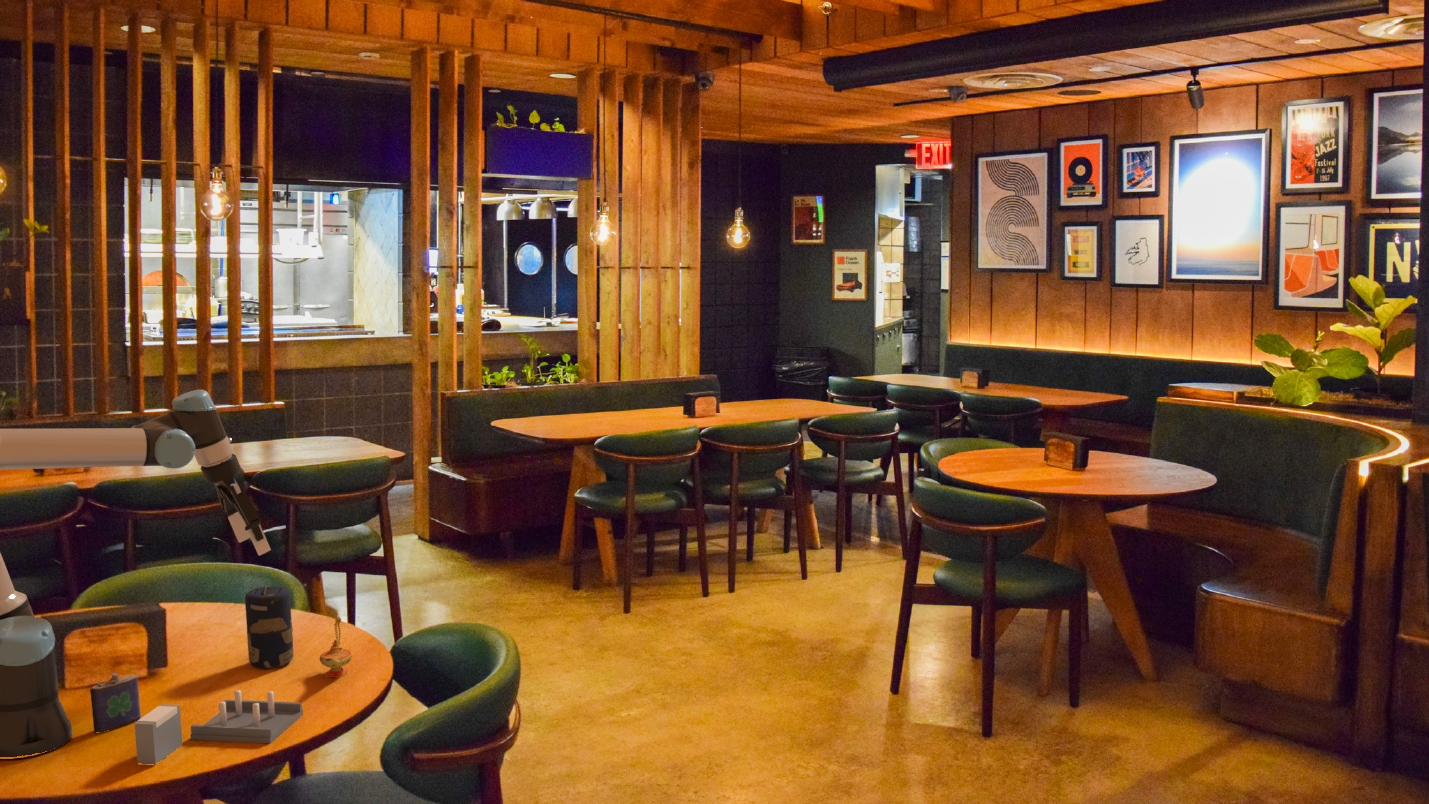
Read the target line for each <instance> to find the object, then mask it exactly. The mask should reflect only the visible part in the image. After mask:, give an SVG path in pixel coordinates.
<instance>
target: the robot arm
mask: <svg viewBox="0 0 1429 804" xmlns="http://www.w3.org/2000/svg"><path fill="white" fill-rule="evenodd" d="M171 404H172V410H170V411H169V412H167V413H164V414H161V415H159V416H157V417H154V418H152V419H150V420H147V421H144V422H142V423H140V424H137V425H136V424H135V425H133V426H132V427H130V428H128V427H121V428H118V427H117V428H109V427H108V428H106V427H105V428H103V427H102V428H99V427H97V428H96V427H95V428H93V427H92V428H85V427H84V428H80V427H79V428H78V427H77V428H69V427H67V428H0V470H1V471H2V470H33V469H34V470H36V469H37V470H38V469H40V470H41V469H73V468H74V469H75V468H76V469H77V468H78V469H79V468H106V467H107V468H113V467H115V468H116V467H118V468H119V467H164V468H167V469H174V470H175V469H181V468H183V467H186V466H187V465H189V464H190V462H192V461H193V459H194V458H195V460H196V462H197V464H198V465H199V466H201V467H200V471H201V473H202V475H203V478H204V480H205V481H206V483H209V484H213V485H214V488H215V490H216V494H217V498H218V502H219V503H220V507H221V508H220V509H221V511H222V512H224V514H225V516H227V519H228V521H229V523H230V526H231V528H232V530H233V532H234V533H233V534H234V535H235V537H236V539H237V541H238V543H242V542H244V541H246V540H249V539H251V542H252V544H253V546H254V549H255V551H256V553H257V555H258V556H262V555H264V554H266V553H268V552H270V551H272V549H271V546H270V544H269V542H268V540H267V537H266V534H265V533H264V530H263V528H262V525H261V524H262V523H263V522H262V519H261V517H260V516H259V514H258V513H257V511H256V508H255V507H254V505H253V503H252V501H251V500H250V498H249V496H248V494H247V493H246V491H245V488H244V486H243V483H242V482H241V481H239V480H237V481H236V478H235V475H237V474H238V473H239V472H240V471H241V468H242V467H241V465H240V462H239V460H238V458H237V455H236V454H234V449H233V447H232V444H231V442H232V441H233V440H232V438H231V437H228V434H227V432H226V431H225V428H224V426H223V423H222V420H221V417H220V415H219V413H218V410H217V406H215V403H214V402H213V399H212V398H211V396H210V394H209V392H208V391H206V390H204V389H195V390H191V391H187V392H185V393H181V394H180V395H178V396H176V397H175V398H173V400H172V401H171ZM55 645H56V637H55V633H54V630H53V626H52V624H51V623H50V622H49V621H48V620H47V619H45V618H42V617H40V616H37V617H35V615H34V612H33V609H32V606H31V605H30V601H29V599H28V596H27V594H25V593H23V592H20V591H17V590H15V587H14V585H13V582H12V579H11V577H10V574H9V571H8V569H7V566H6V563H5V561H4V559H3V556H2V554H1V552H0V757H17V756H22V755H23V756H25V755H32V754H35V753H42V752H45V751H50V750H52V751H54V750H53V749H54V748H57V749H59V748H61V747H63V746H64V745H63V744H65V745H66V744H67V743H68V742H70V741H71V739H72V738H73V727H72V722H71V720H70V719H69V718H68V716H67V713H66V711H65V709H64V706H63V704H62V703H61V700H60V696H59V686H58V673H57V664H56V663H57V660H56V659H57V658H56V649H55ZM69 740H70V741H69ZM66 742H67V743H66ZM62 745H63V746H62ZM60 746H61V747H60ZM58 747H59V748H58ZM50 752H51V751H50Z"/></svg>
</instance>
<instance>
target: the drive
mask: <svg viewBox="0 0 1429 804" xmlns="http://www.w3.org/2000/svg"><path fill="white" fill-rule="evenodd" d="M182 733H183V732H182V720H181V705H179V704H161V705H158V706H157V707H155V708H154V709H152V710H151V711H149V712H147V714H145V715H144V716H141V718H140V719H139V720H138V721H136V722H134V734H135V736H134V737H135V749H136V761H137V762H136V763H137V764H138V763H142V764H154V765H156V763H157V762H160V760H163V759H164V758H165V757H167V755H169V756H170V753H172V752H173V751H174V752H176V751H177V750H178V749H179V747H180V746H181V747H182V746H183V734H182ZM181 747H180V748H181ZM177 748H178V749H177ZM176 749H177V750H176ZM175 750H176V751H175ZM174 752H173V753H174ZM173 753H172V754H173ZM167 758H168V757H167ZM165 759H166V758H165ZM165 759H164V760H165ZM164 760H163V761H164ZM160 763H161V762H160ZM156 766H157V765H156Z"/></svg>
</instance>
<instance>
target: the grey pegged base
mask: <svg viewBox="0 0 1429 804" xmlns="http://www.w3.org/2000/svg"><path fill="white" fill-rule="evenodd" d="M266 696H267V697H266V698H267V700H247V699H242V690H240V689H237V690H234V699H224V701H220V702H218V709H219V712H218V713H217V714H215V715H214V716H213V717H212V718H210V719H209V720H207V722H205V723H204V724H192V725H190V740H191V741H206V742H207V741H209V742H210V741H211V742H229V741H230V742H233V743H257V744H272V743H273V742H274V741H275V740H276V739H277V738H279V736H280V735H282V733H284V732H285V731H286V730H287V729H289V728H290V727H291V726H292V725H293V724H294V723H295V722H297V720H299V719H301V717H302V716H303V715H304V709H303V703H302V702H294V701H293V702H291V701H275V698H274V696H275V694H274V691H272V690H271V691H267V693H266ZM230 742H229V743H230Z"/></svg>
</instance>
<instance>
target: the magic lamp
mask: <svg viewBox="0 0 1429 804" xmlns="http://www.w3.org/2000/svg"><path fill="white" fill-rule="evenodd" d="M341 622H342V618H341V616H337V617H335V622H334V624H333V626H334V632H335V639H334V640H333V642H332V643H331V644H332V645H331V646H330V649H329V650H327V651H324V652H323V653H321V654H320V656H319V662H320V664H322V666H324V667H327V668H330V669H329V670H328V671H326V672H325V673H324V677H326V678H330V677H336V678H341V677H344V676H347V675H348V674H349V672H350V671H349V670H347V669H345V668H343V667H344V666H345V665H347V664H349V663H350V661H351V660H352V659H353V654H352V652H351V651H350V650H348V649H345V648H344V649H343V648H342V646H341V633H342V632H341V627H340V623H341Z"/></svg>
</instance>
